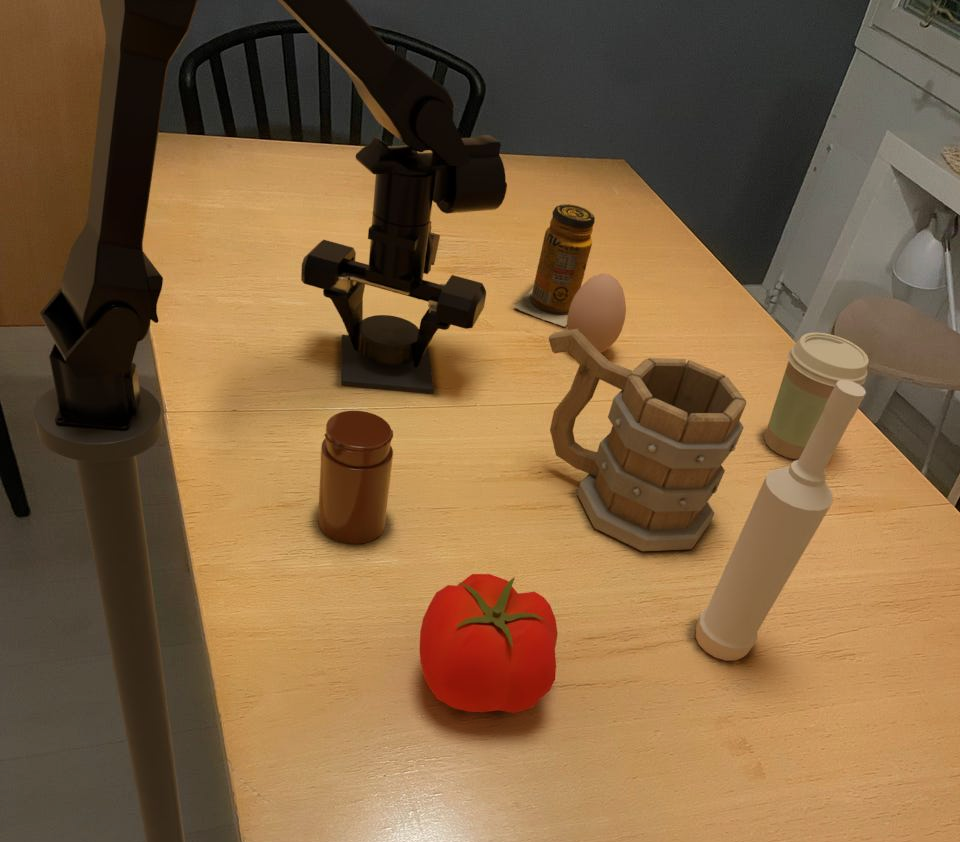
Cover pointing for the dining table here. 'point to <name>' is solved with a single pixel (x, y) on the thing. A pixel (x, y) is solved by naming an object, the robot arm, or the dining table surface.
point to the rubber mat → (384, 372)
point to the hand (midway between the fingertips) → (387, 357)
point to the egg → (598, 311)
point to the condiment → (560, 264)
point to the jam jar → (355, 477)
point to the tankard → (649, 444)
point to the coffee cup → (811, 388)
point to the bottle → (775, 535)
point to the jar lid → (387, 339)
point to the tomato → (488, 646)
